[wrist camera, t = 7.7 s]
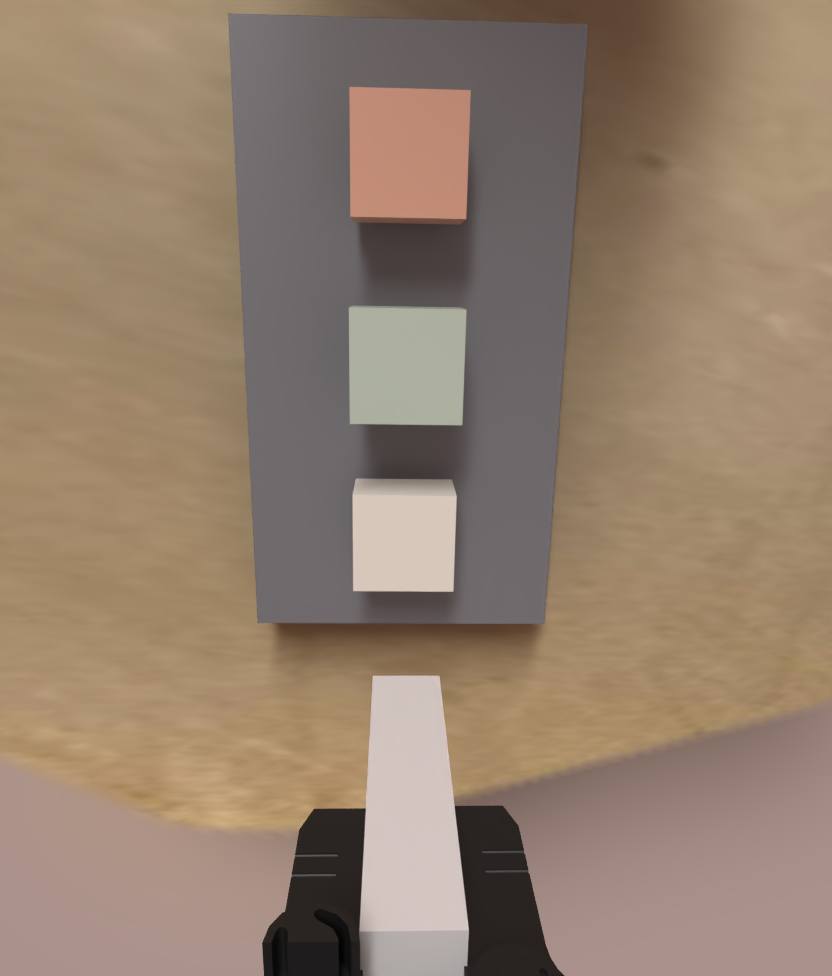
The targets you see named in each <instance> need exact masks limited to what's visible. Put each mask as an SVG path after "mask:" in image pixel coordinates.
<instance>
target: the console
mask: <svg viewBox="0 0 832 976" xmlns="http://www.w3.org/2000/svg"><path fill="white" fill-rule="evenodd" d="M228 19H229V39H230V60H231V81H232V101H233V122H234V143H235V163H236V184H237V205H238V225H239V246H240V267H241V288H242V308H243V329H244V350H245V370H246V391H247V412H248V432H249V453H250V474H251V494H252V515H253V536H254V556H255V577H256V598H257V618H258V623H407V624H544V621H545V608H546V594H547V581H548V567H549V554H550V540H551V527H552V513H553V500H554V486H555V472H556V459H557V445H558V432H559V418H560V405H561V391H562V378H563V364H564V351H565V337H566V324H567V310H568V297H569V283H570V270H571V256H572V243H573V229H574V216H575V202H576V188H577V175H578V161H579V148H580V134H581V121H582V107H583V94H584V80H585V67H586V53H587V40H588V26H589V24H571V23H537V22H503V21H469V20H435V19H401V18H368V17H334V16H300V15H266V14H232V13H228ZM349 87H375V88H412V89H450V90H471V97H470V126H469V155H468V183H467V212H466V220H465V221H464V222H463V223H461V224H460V225H454V224H406V223H358V222H354V221H353V220H352V218H351V217H350V97H349ZM351 306H409V307H461V308H463V309H466V337H465V365H464V393H463V421H462V425H397V424H350V389H349V307H351ZM356 479H452V481H453V485H454V488H455V492H456V495H457V501H456V530H455V559H454V587H453V592H420V591H353V496H352V495H353V490H354V485H355V480H356Z"/></svg>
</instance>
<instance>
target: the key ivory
mask: <svg viewBox="0 0 832 976" xmlns="http://www.w3.org/2000/svg"><path fill="white" fill-rule="evenodd" d="M352 496H353V591H420V592H453V587H454V559H455V530H456V501H457V495H456V492H455V488H454V485H453V481H452V479H356V480H355V485H354V490H353V495H352Z"/></svg>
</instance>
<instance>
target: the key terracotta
mask: <svg viewBox="0 0 832 976" xmlns="http://www.w3.org/2000/svg"><path fill="white" fill-rule="evenodd" d="M349 97H350V217H351V218H352V220H353V221H354V222H358V223H406V224H454V225H460V224H461V223H463V222H464V221H465V220H466V212H467V183H468V155H469V126H470V97H471V90H450V89H412V88H375V87H349Z"/></svg>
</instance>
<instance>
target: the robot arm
mask: <svg viewBox="0 0 832 976" xmlns="http://www.w3.org/2000/svg"><path fill="white" fill-rule="evenodd" d="M262 944H263V945H262V946H263V963H264V976H564V975H563V974H562V973H561V972H560V971H559V970H558V969H557V967H556V966H555V964H554V963H553V961H552V960H551V958H550V955H549V953H548V950H547V947H546V944H545V940H544V935H543V932H542V927H541V922H540V918H539V914H538V909H537V905H536V901H535V896H534V892H533V888H532V883H531V879H530V874H529V873H528V866H527V861H526V857H525V854H524V848H523V844H522V840H521V835H520V831H519V827H518V825H517V824H516V822H515V821H514V820H513V819H512V817H511V816H510V815H509V814H508V812H507V811H506V809H505V808H504V807H503V806H454V798H453V789H452V781H451V772H450V763H449V755H448V746H447V738H446V729H445V720H444V712H443V703H442V694H441V686H440V677H439V676H373V684H372V703H371V722H370V741H369V760H368V779H367V797H366V809H314V810H313V811H312V813H311V814H310V816H309V817H308V818H307V820H306V821H305V823H304V824H303V825H302V827H301V828H300V830H299V835H298V841H297V847H296V853H295V859H294V864H293V871H292V878H291V882H290V887H289V893H288V899H287V905H286V911H285V912H284V913H282V914H281V915H280V916H279V917H278V918H277V919H276V920H275V921H274V922H273V923H272V924H271V925H270V926H269V928H268V931H267V933H266V936H265V938H264V940H263V943H262Z"/></svg>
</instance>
